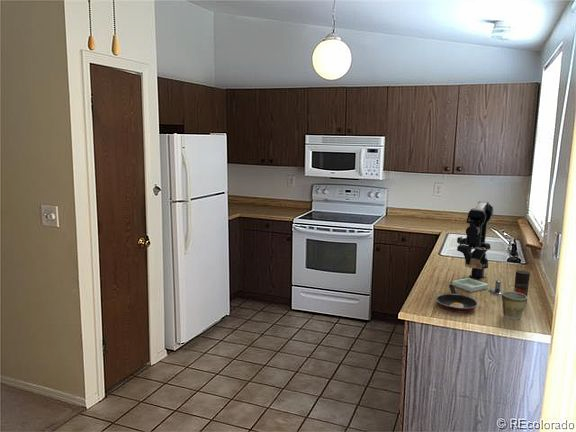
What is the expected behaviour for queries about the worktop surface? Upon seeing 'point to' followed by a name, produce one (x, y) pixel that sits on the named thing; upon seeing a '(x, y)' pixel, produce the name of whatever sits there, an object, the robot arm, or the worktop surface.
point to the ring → (474, 264)
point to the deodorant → (522, 282)
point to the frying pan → (456, 301)
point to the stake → (496, 289)
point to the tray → (470, 284)
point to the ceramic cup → (513, 304)
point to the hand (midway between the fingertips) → (472, 263)
